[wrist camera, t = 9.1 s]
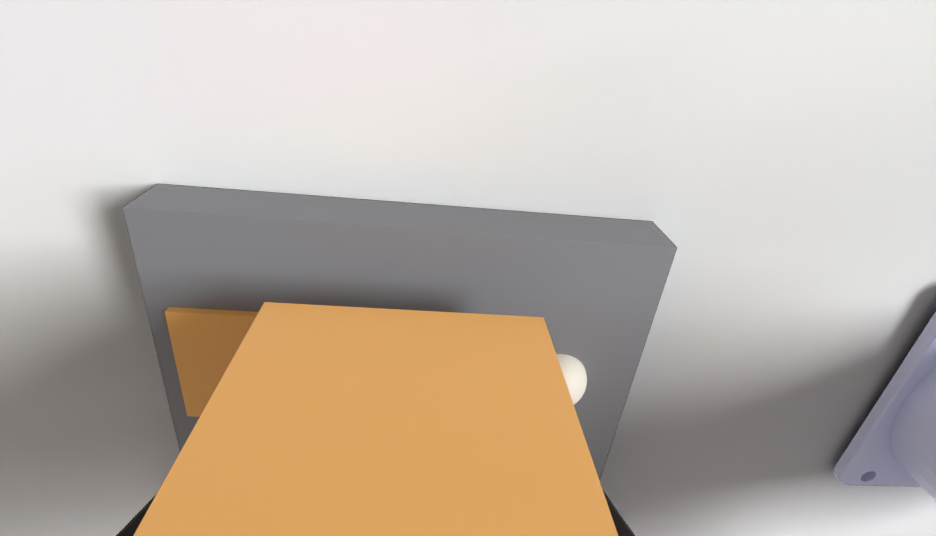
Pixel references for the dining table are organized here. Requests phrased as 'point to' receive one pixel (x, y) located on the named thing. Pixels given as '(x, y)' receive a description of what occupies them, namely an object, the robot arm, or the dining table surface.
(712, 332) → the dining table surface
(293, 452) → the orange cube
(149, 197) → the panel
